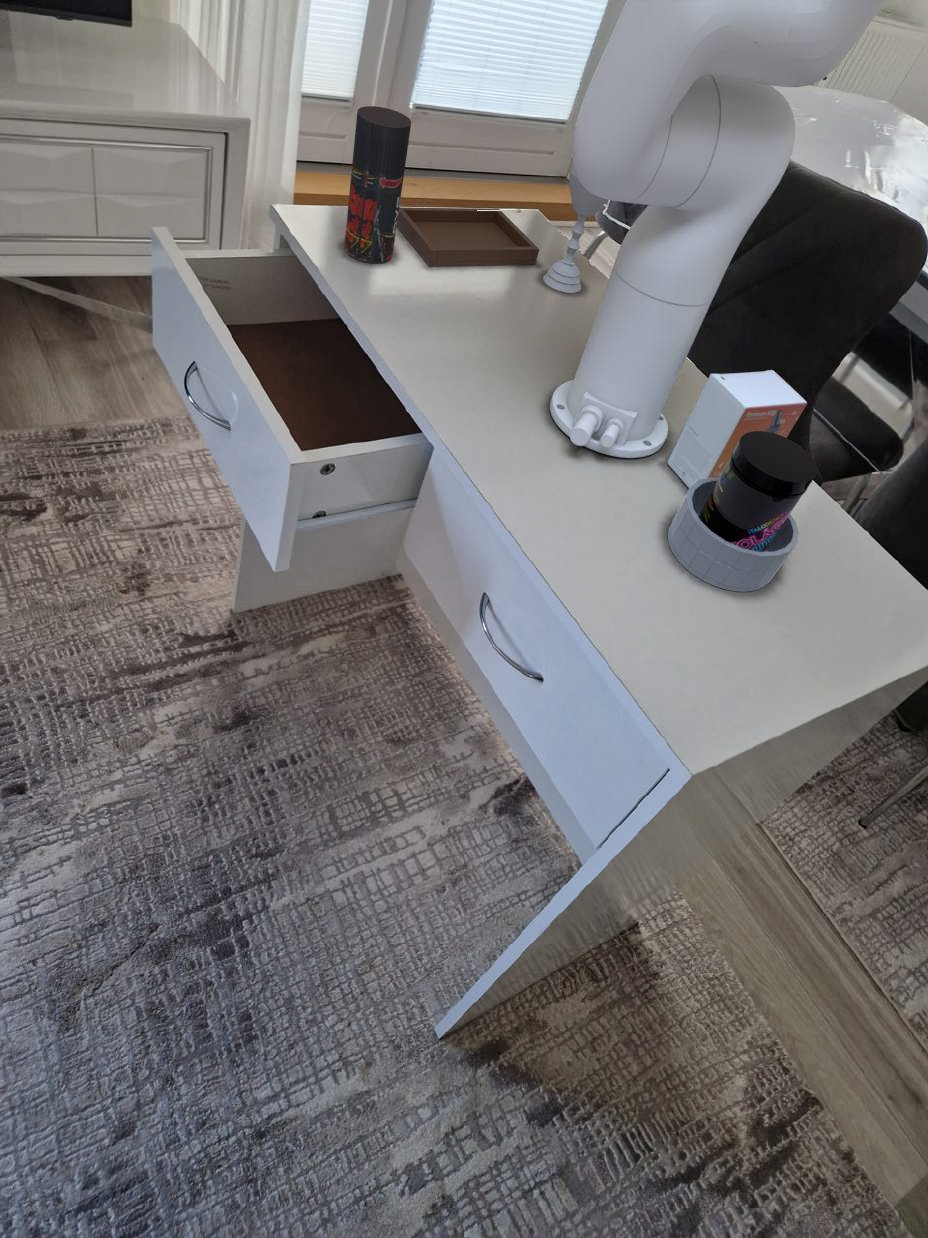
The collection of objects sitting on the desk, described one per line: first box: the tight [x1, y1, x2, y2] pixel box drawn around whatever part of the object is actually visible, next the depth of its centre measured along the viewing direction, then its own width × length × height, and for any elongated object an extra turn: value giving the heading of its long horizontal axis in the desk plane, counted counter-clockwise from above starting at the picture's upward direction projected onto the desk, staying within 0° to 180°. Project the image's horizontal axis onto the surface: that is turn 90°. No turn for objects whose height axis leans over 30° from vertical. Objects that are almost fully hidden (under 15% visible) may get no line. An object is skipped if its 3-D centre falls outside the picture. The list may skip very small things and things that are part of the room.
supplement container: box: [698, 431, 818, 552], centre depth 70 cm, size 7×7×10 cm
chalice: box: [542, 155, 609, 294], centre depth 99 cm, size 7×7×18 cm
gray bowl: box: [667, 477, 800, 593], centre depth 73 cm, size 10×10×4 cm
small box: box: [667, 369, 808, 489], centre depth 79 cm, size 8×6×10 cm
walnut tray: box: [396, 206, 540, 268], centre depth 106 cm, size 16×12×2 cm
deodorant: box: [343, 105, 412, 265], centre depth 94 cm, size 6×6×15 cm
